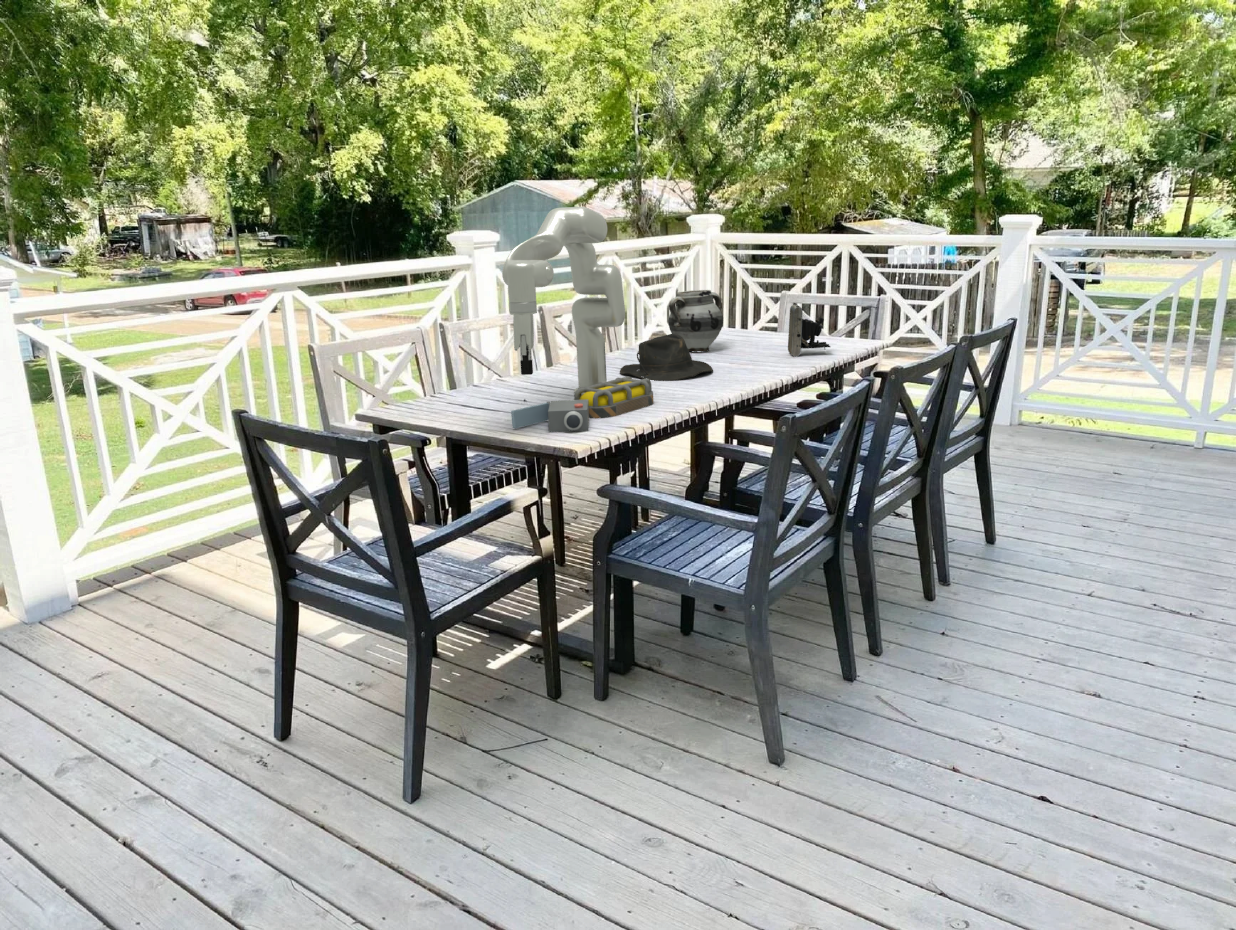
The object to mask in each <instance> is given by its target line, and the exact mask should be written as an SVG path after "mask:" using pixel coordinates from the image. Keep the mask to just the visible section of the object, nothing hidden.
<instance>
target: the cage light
mask: <svg viewBox="0 0 1236 930" xmlns="http://www.w3.org/2000/svg"><path fill="white" fill-rule="evenodd" d="M577 388H578V390H576V392H575V393H573V400H586V399H588V404H589V419H594V420H595V419H607V418H612V417H617V416H621V415H624V414H627V413H631V412H633V411H637V410H640V409H644V408H647V407H651V406H652V405H653V404H654V392H653V390H652V389H653V388H652V381H650V380H649V379H647V378H646V379H634V378H632V376H630V375H626V376H623V377H617V378H615V379H613V380H608V381H607V382H599V383H597V384H596V385H592V386H588V387H580V388H579V387H577ZM584 392H586V393H584ZM581 393H584V394H583V395H582V396H581Z"/></svg>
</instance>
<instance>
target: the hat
mask: <svg viewBox="0 0 1236 930" xmlns="http://www.w3.org/2000/svg"><path fill="white" fill-rule="evenodd" d="M636 358H637V361H638V363H632V364H625V365H623V366H622V367H621V368H620V370H619V374H620V375H626V376H629V377H635V378H638V379H640V380H642V379H649V380H654V382H676V381H681V380H685V379H689V378H695V377H696V376H698V375H699V374H701V373H708V372H714V368H713V367H712V365H710V364H709V363H707V362H705V361H701V360H694V359H693V357H692V355H691V352H689V350H688V348H687V346H686V343H685V340H684V339H683V337H681V336H680V335H678V334H672V333H670V334H665V335H660V336H657V337H653V338H652V339H649V340H645V341H642V342H639V344H638V351H637V353H636Z"/></svg>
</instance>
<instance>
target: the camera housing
mask: <svg viewBox="0 0 1236 930" xmlns="http://www.w3.org/2000/svg"><path fill="white" fill-rule="evenodd" d="M547 421H548V432H549V433H560V432H561V433H564V432H565V433H566V432H585V431H586V432H588V431H589V428H590V426H589V424H590V418H589V404H588V399H586V400H574V399H569V400H568V399H565V400H550V406H549V410H548V420H547Z"/></svg>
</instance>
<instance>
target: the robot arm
mask: <svg viewBox="0 0 1236 930" xmlns="http://www.w3.org/2000/svg"><path fill="white" fill-rule="evenodd" d="M607 234H608V224H607V221H606V219H605V217H604V216H603V215H602V214H600V213H599V212H597V211H595V210H594V209H591V208H589V207H584V206H570V207H557V208H556V207H555V208H553V209H551V210H550V211H549V212H548V213H547V214H546V216H545V218H544V220H543V222H542V224H541V226H540V227H539V229H538V230H537V232H536V234H535V235H533V236H532V237H530V238H528V239H527V240H525V241H523V242H521V243H519V244H518V245H517V246H515V247H514V248H513V249H511V251H510V253H508V256H507V258H506V259H505V262H504V264H503V267H502V272H501V276H502V280H503V282H504V283H505V285H507V289H508V290H507V291H508V292H507V294H508V307H509V315H512V316H513V317H512V318H513V320H512V322H513V323H512V325H513V327H512V329H513V330H512V331H513V350H514V351H515V352H516V351H517V352H518V350H519V353H520V361H519V363H520V375H523V376H527V375H533V373H534V367H533V359H532V350H533V348H534V346H535V345H534V344H535V331H534V330H535V327H534V326H535V325H534V315H536V314H537V313H538V307H537V292H536V291H537V290H536V288H544V287H547V286H549V285H550V284H551V283H552V282H553V279H554V276H555V275H554V274H555V273H554V268H553V266H552V264H551V263H550V262H548V261H547V260H550V259H552V258H555V257H557V256H558V255H559V254H560V253H561V251H563V247H564V248H565V249H566V250H567V253H568V257H569V258H568V259H569V264H570V271H571V282H572V285H573V289H574V291H575V293H577V294H579V295H582V296H583V295H587V296H588V295H589V296H595V297H581V298H579V299H576V300H575V301H574V302H573V304H572V307H571V316H572V321H573V325H574V331H575V340H576V341H575V342H576V362H577V380H578V384H577V385H578V387H577V388H575V389H574V390H573V391H574V393H573V394H575V392H576V390H578V388H580V387H588V386H592V385H596V384H597V383H599V382H607V359H606V354H607V353H606V340H605V337H604V334H603V333H602V332H601V331H600V329H599V328H617V327H620V326H622V325H623V323H624V322H625V318H626V305H625V298H624V289H623V279H622V274H621V271H620V269H619V268H618V267H617V266H616V265H614V264H599V263H598V260H597V255H596V248H595V246H594V244H598V243H602V242H603V241H604V240H605V239H606V237H607ZM596 295H597V296H598V295H599V297H596ZM600 296H605V297H600ZM584 393H586V392H584ZM584 393H581V396H582V395H583V394H584Z"/></svg>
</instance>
